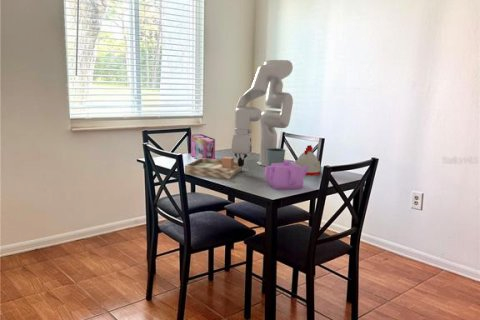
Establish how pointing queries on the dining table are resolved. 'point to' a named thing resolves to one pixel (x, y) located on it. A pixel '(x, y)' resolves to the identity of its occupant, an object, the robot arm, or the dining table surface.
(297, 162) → the kitchen timer
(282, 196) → the dining table surface
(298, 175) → the teakettle
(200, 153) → the gum box
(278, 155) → the gray plant pot
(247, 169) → the dining table surface
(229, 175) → the wooden tray
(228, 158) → the block
